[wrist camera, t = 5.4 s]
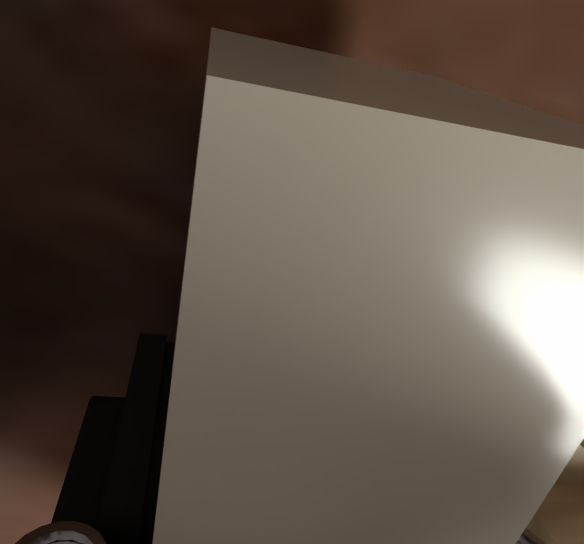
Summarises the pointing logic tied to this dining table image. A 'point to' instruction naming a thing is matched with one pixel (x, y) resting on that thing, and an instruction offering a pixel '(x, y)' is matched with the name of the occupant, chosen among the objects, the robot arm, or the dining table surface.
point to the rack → (563, 506)
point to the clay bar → (371, 308)
